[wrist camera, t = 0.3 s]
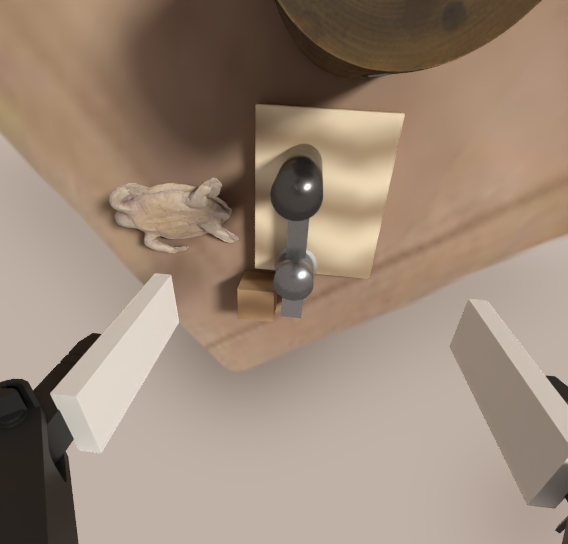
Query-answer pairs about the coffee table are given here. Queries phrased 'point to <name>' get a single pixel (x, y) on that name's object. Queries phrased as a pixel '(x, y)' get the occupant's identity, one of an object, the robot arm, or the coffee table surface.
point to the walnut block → (257, 296)
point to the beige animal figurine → (172, 212)
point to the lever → (297, 223)
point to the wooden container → (395, 31)
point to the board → (327, 183)
